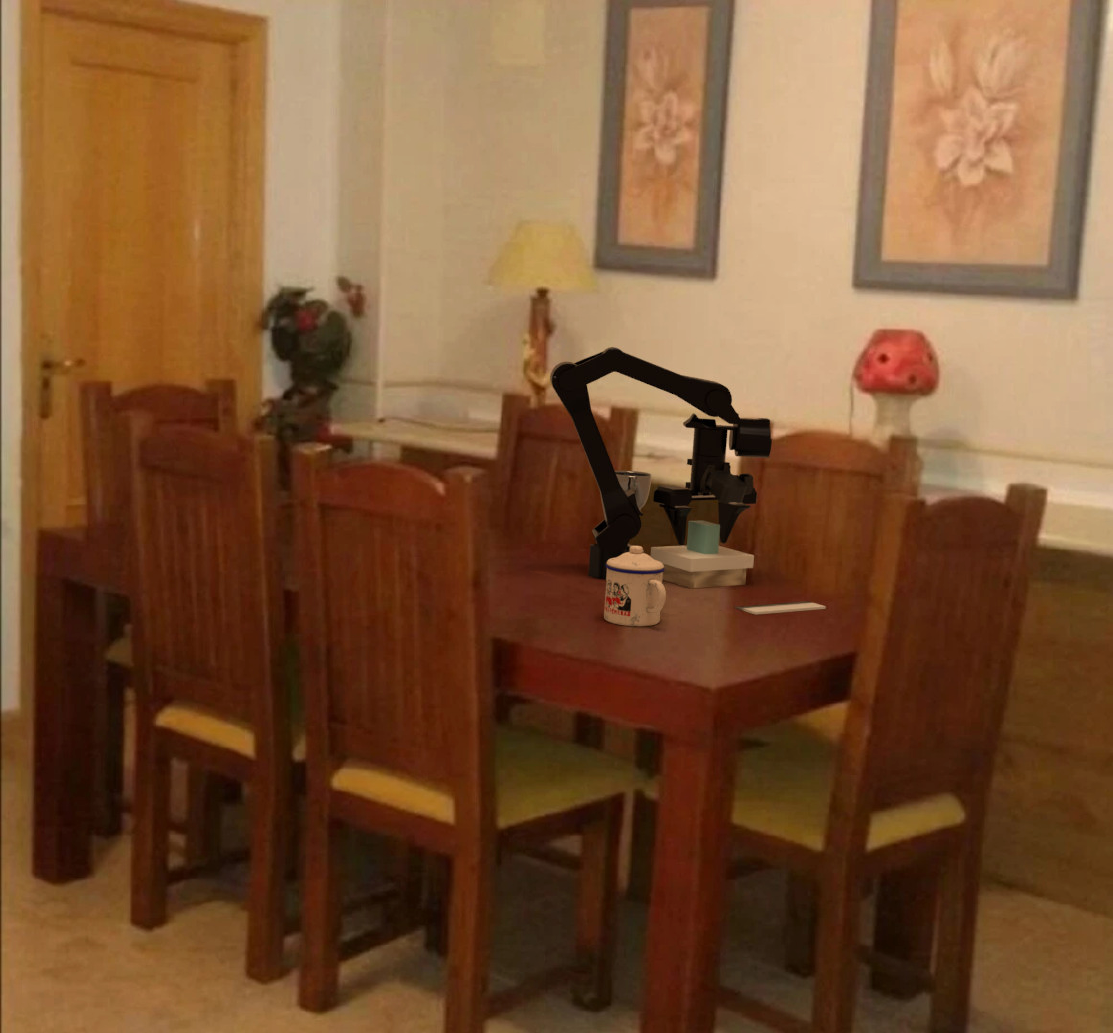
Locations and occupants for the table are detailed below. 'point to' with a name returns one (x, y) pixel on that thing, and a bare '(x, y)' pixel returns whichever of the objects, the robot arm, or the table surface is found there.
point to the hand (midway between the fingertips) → (702, 544)
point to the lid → (702, 551)
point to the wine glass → (635, 485)
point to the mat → (781, 607)
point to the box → (704, 577)
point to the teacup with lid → (634, 589)
